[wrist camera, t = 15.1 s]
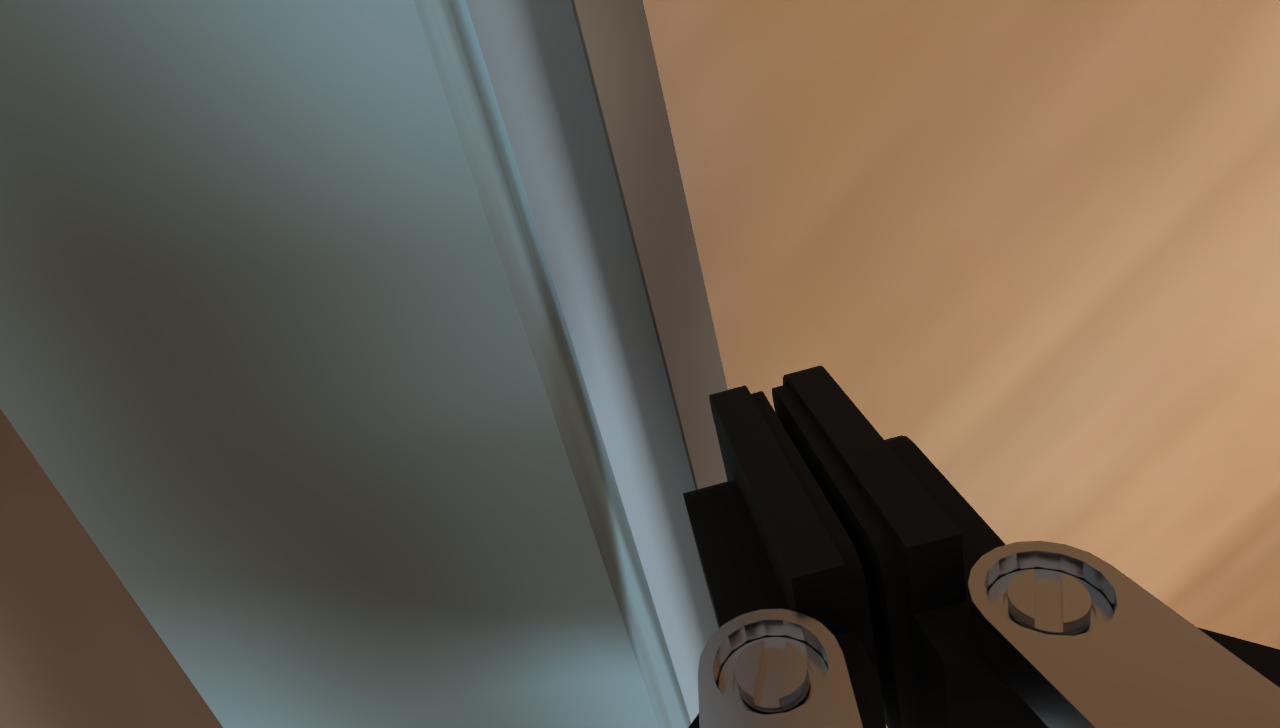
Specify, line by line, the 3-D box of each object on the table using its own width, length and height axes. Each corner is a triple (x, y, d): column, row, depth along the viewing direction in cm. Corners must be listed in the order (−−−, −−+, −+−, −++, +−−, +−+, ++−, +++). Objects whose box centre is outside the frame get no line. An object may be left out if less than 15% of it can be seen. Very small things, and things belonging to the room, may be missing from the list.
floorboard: (341, -1301, 7) (224, -2075, 5) (836, 911, 22) (873, 1021, 20) (-1288, -921, 7) (-2397, -1520, 4) (338, 1057, 22) (311, 1188, 19)
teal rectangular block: (432, -106, 11) (314, -288, 5) (689, 718, 18) (754, 1007, 12) (108, -18, 11) (-361, -109, 5) (497, 774, 18) (476, 1089, 12)
